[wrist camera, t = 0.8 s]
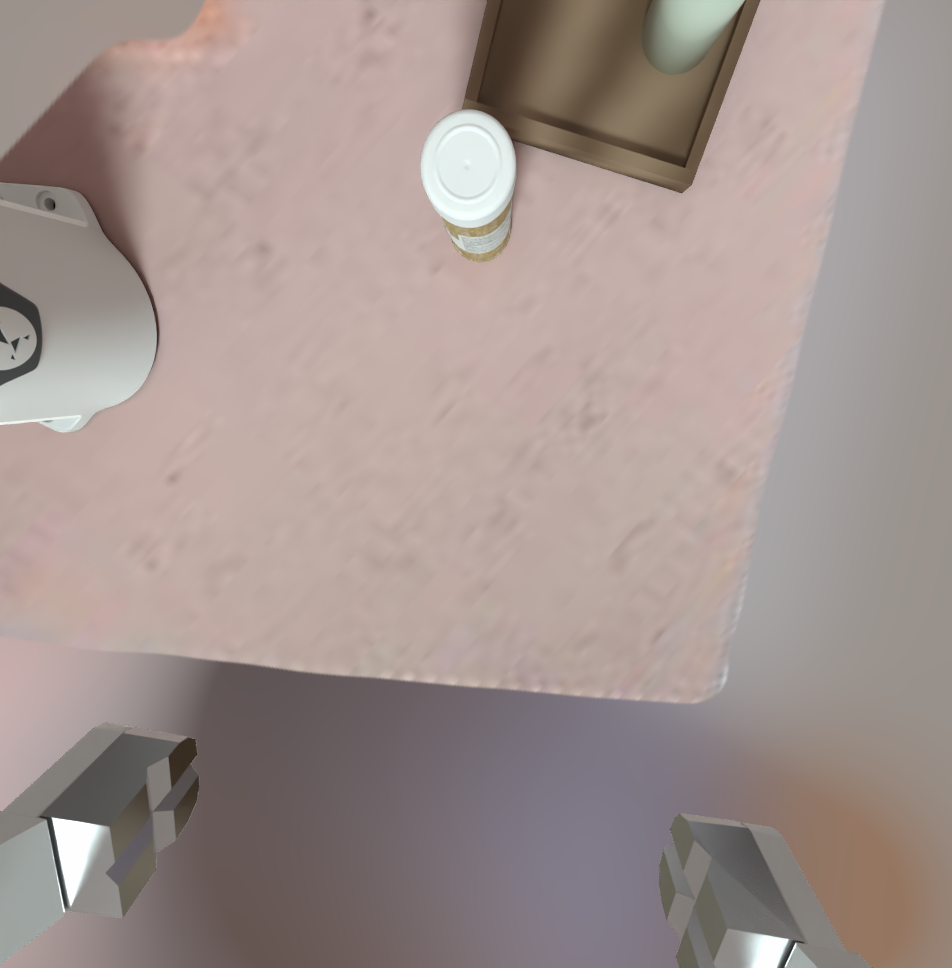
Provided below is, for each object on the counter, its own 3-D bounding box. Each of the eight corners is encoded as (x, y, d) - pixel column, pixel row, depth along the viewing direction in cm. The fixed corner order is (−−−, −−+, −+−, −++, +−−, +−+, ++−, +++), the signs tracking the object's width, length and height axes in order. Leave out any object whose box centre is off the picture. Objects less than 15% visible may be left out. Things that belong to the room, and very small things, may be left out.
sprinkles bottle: (446, 199, 34) (412, 112, 21) (509, 190, 34) (512, 97, 21) (453, 267, 35) (425, 224, 23) (514, 260, 35) (520, 212, 22)
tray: (463, 124, 33) (461, 112, 31) (515, -96, 29) (516, -123, 28) (681, 193, 33) (691, 185, 32) (758, -16, 30) (774, -38, 28)
